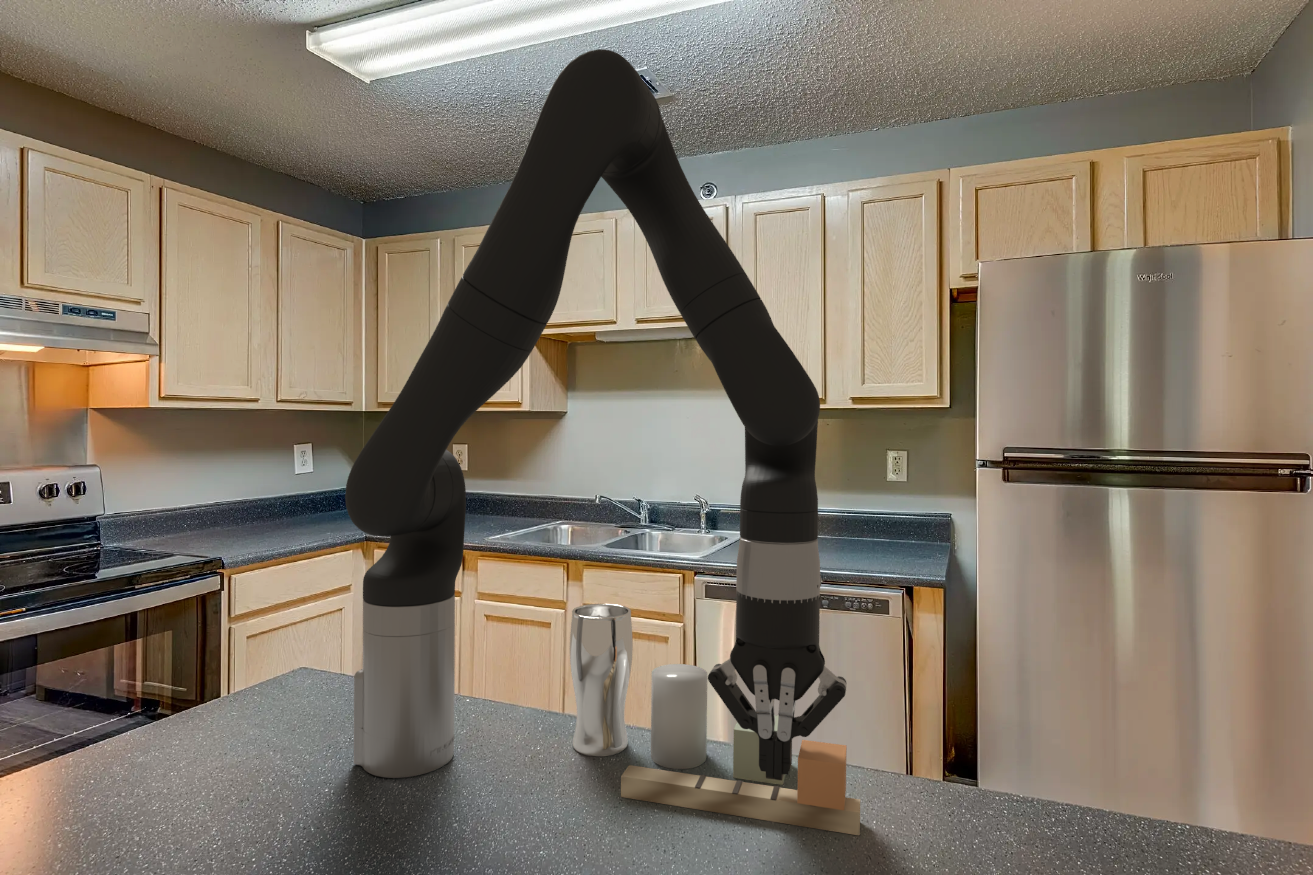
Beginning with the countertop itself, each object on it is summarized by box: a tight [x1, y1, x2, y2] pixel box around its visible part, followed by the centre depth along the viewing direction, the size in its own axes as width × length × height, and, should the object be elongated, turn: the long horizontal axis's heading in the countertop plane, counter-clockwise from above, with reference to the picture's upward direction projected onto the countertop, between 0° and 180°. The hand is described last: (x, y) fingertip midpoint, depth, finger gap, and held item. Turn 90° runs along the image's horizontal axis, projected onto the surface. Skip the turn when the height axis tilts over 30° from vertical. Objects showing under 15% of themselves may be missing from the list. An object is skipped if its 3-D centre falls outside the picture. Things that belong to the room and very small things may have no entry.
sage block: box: [732, 714, 786, 786], centre depth 76 cm, size 5×5×5 cm
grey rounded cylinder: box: [650, 663, 708, 770], centre depth 79 cm, size 6×6×9 cm
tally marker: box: [796, 739, 847, 810], centre depth 66 cm, size 4×4×4 cm
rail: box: [620, 764, 861, 836], centre depth 69 cm, size 22×2×2 cm, turn 73°
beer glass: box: [569, 603, 634, 758], centre depth 82 cm, size 7×7×15 cm
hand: (775, 775), depth 67 cm, fingers closed
